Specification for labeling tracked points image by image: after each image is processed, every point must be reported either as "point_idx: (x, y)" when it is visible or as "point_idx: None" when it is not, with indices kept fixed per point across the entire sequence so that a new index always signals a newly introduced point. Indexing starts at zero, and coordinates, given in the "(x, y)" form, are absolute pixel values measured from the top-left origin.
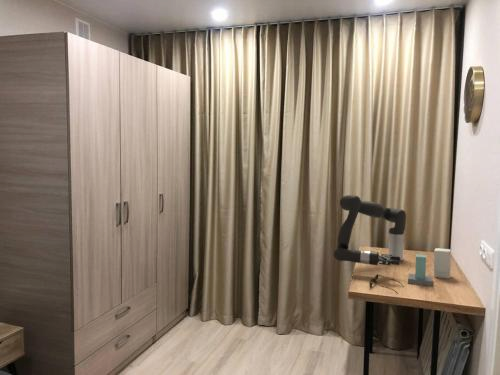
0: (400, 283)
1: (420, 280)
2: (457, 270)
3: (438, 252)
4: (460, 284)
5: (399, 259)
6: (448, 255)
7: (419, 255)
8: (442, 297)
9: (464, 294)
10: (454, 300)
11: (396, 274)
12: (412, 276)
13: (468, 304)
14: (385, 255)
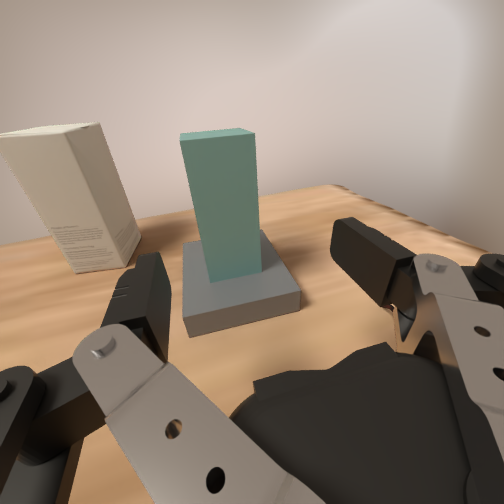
0: (393, 309)
1: (276, 254)
2: (16, 244)
3: (81, 138)
4: (191, 217)
5: (166, 278)
6: (105, 143)
7: (208, 134)
8: (346, 215)
9: (274, 202)
10: (339, 202)
11: (121, 455)
12: (238, 287)
13: (337, 191)
14: (236, 501)
